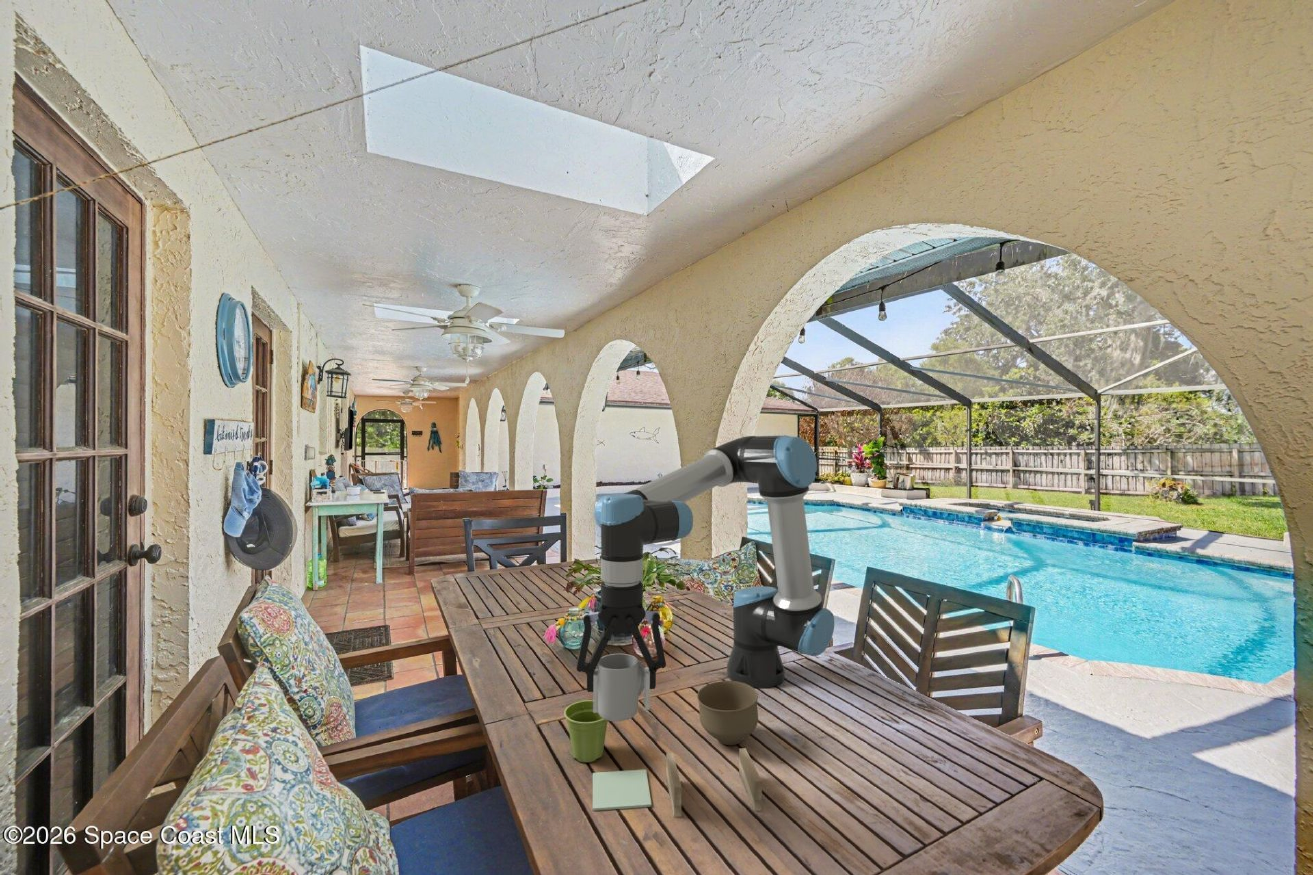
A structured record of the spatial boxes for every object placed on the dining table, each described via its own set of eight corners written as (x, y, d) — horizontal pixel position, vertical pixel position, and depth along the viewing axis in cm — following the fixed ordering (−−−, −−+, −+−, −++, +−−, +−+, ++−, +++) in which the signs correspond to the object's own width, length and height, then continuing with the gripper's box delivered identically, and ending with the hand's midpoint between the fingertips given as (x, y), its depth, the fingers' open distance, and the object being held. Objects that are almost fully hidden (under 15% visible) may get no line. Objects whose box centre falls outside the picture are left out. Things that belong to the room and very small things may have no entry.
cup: (589, 711, 98) (589, 661, 98) (631, 693, 105) (631, 646, 105) (615, 726, 93) (615, 673, 93) (657, 707, 100) (658, 657, 100)
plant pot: (565, 742, 114) (566, 700, 114) (611, 740, 115) (611, 698, 115) (561, 769, 105) (562, 723, 105) (611, 767, 106) (611, 721, 106)
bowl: (686, 731, 119) (687, 685, 119) (737, 720, 124) (737, 675, 124) (715, 763, 107) (716, 712, 107) (770, 749, 112) (770, 700, 112)
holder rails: (745, 775, 104) (745, 748, 104) (761, 810, 94) (761, 781, 94) (666, 780, 102) (666, 753, 102) (674, 817, 92) (674, 787, 92)
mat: (645, 771, 104) (645, 769, 104) (651, 806, 95) (651, 804, 95) (592, 775, 103) (592, 772, 103) (592, 810, 93) (592, 808, 93)
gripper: (677, 574, 104) (676, 695, 104) (562, 577, 101) (562, 700, 101) (683, 585, 96) (683, 715, 96) (560, 588, 94) (559, 721, 94)
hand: (621, 707), depth 99 cm, fingers closed on cup, 8 cm apart
